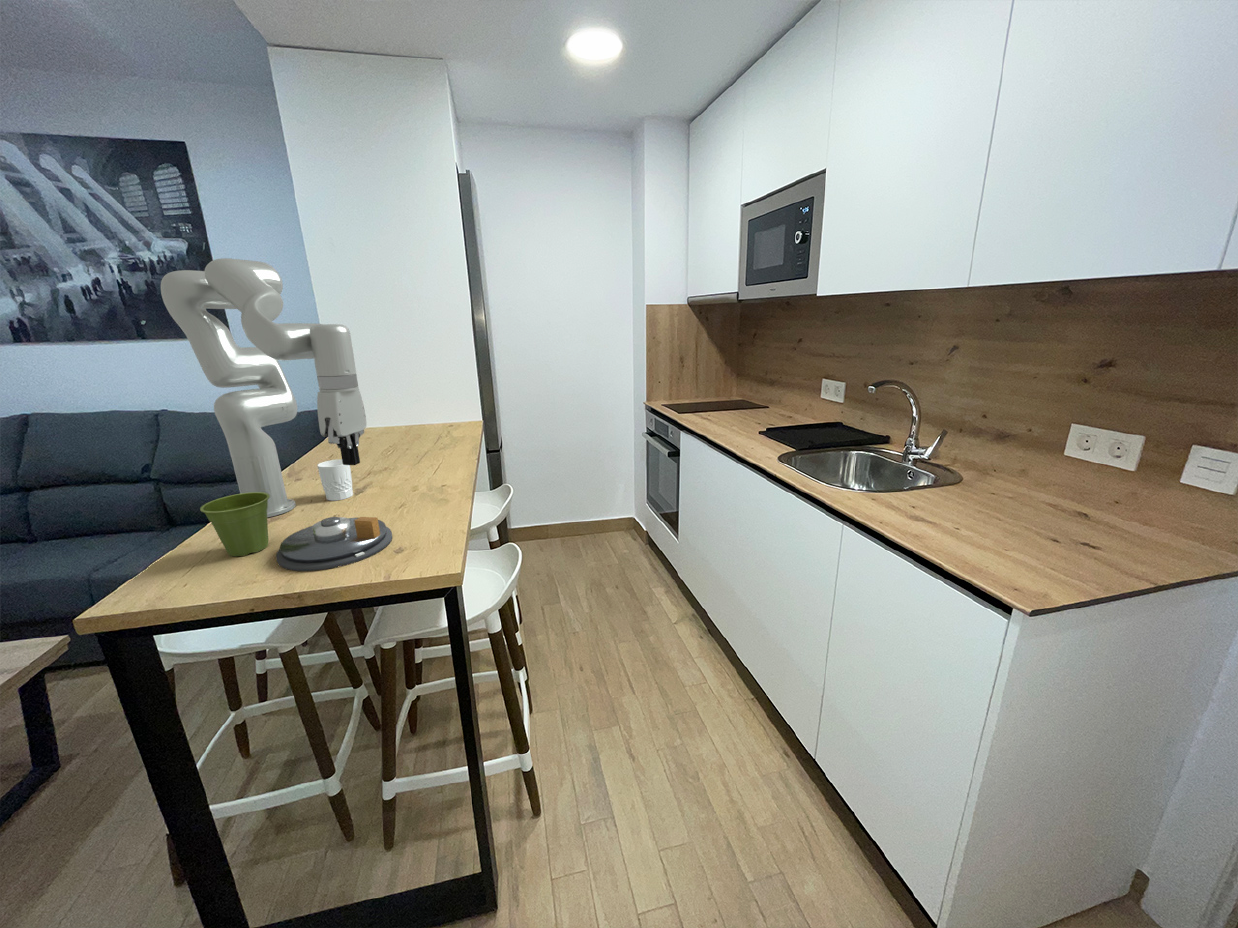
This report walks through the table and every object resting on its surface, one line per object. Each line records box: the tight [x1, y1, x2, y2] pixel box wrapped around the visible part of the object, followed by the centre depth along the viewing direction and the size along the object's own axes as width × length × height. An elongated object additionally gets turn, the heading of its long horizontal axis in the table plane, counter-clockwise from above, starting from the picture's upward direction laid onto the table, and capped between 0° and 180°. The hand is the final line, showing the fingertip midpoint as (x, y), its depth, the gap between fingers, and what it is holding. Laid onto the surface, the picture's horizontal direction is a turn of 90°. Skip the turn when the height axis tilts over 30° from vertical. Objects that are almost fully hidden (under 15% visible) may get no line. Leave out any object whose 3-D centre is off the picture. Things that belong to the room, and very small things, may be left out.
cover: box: [311, 516, 352, 543], centre depth 105 cm, size 7×7×4 cm
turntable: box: [279, 516, 387, 563], centre depth 106 cm, size 20×20×6 cm
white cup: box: [316, 458, 354, 502], centre depth 138 cm, size 8×8×10 cm
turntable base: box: [275, 526, 393, 572], centre depth 107 cm, size 22×22×1 cm
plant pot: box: [199, 492, 270, 557], centre depth 105 cm, size 12×12×11 cm
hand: (351, 464), depth 112 cm, fingers closed
